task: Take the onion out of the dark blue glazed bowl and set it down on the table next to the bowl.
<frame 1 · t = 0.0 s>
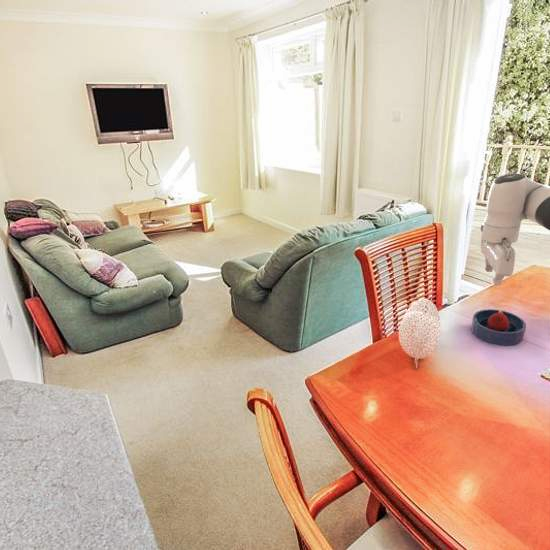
hand: (492, 277, 112), 20 cm above the table, tool pointing down, fingers open, 8 cm apart
bowl: (496, 334, 118), on the table
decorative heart: (416, 358, 111), on the table
onion: (496, 333, 118), resting on bowl
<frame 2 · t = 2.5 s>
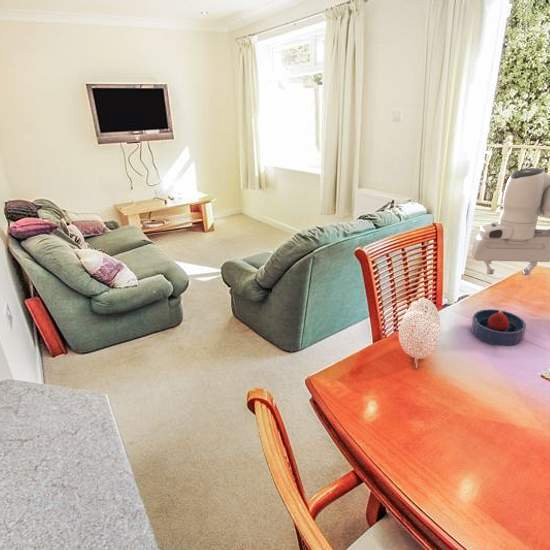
hand: (507, 274, 110), 21 cm above the table, tool pointing down, fingers open, 8 cm apart
nothing on the table moved.
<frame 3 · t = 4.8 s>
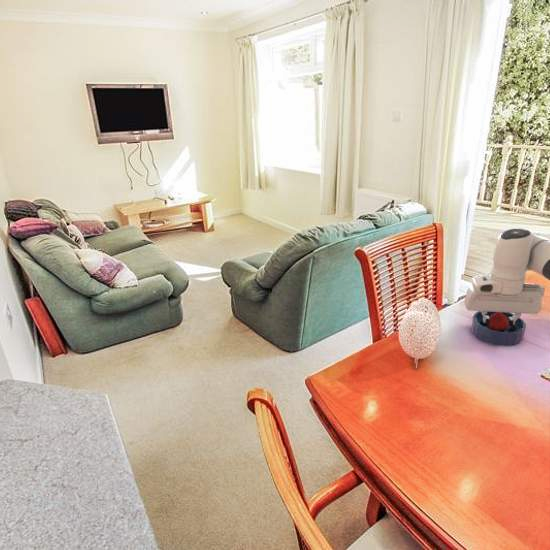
hand: (498, 322, 117), 4 cm above the table, tool pointing down, fingers closed on onion, 6 cm apart
onion: (496, 333, 118), resting on bowl, touching gripper
everything else where it was.
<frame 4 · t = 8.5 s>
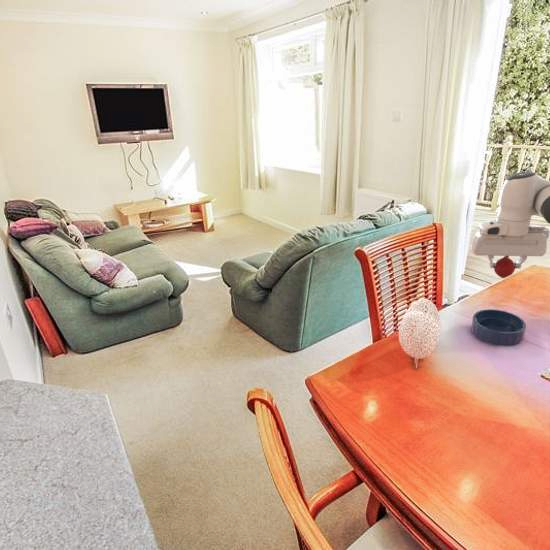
hand: (504, 267, 121), 18 cm above the table, tool pointing down, fingers closed on onion, 6 cm apart
onion: (502, 278, 122), point 14 cm above the table, touching gripper
everything else where it was.
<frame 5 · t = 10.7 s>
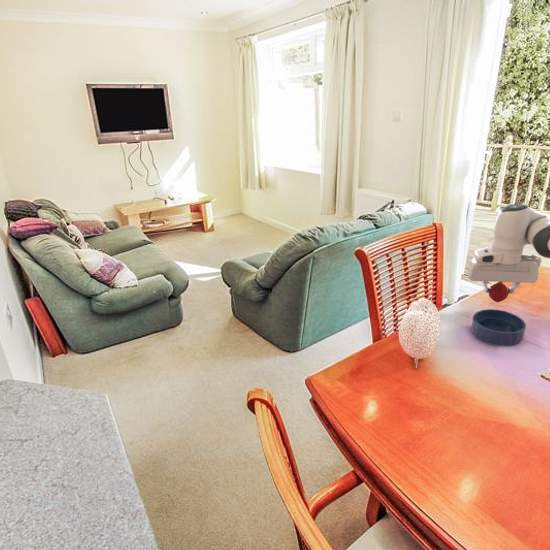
hand: (498, 292, 127), 8 cm above the table, tool pointing down, fingers closed on onion, 6 cm apart
onion: (496, 302, 128), point 4 cm above the table, touching gripper
everything else where it was.
when the fingers open (4 cm above the table, at t = 12.3 s): onion stays where it is, on the table.
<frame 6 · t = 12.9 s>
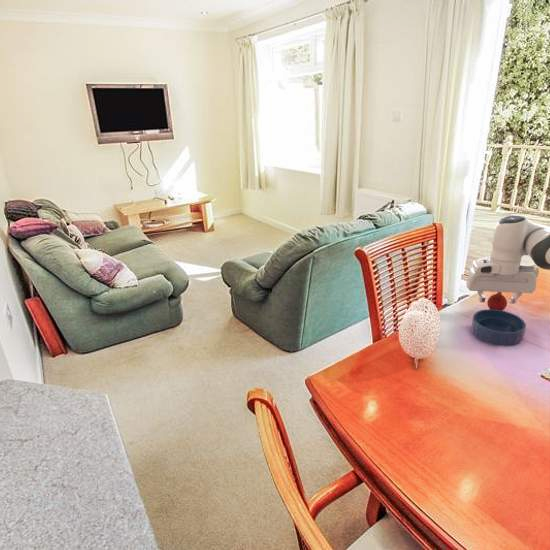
hand: (496, 302, 128), 4 cm above the table, tool pointing down, fingers open, 8 cm apart
onion: (494, 312, 130), on the table
everything else where it was.
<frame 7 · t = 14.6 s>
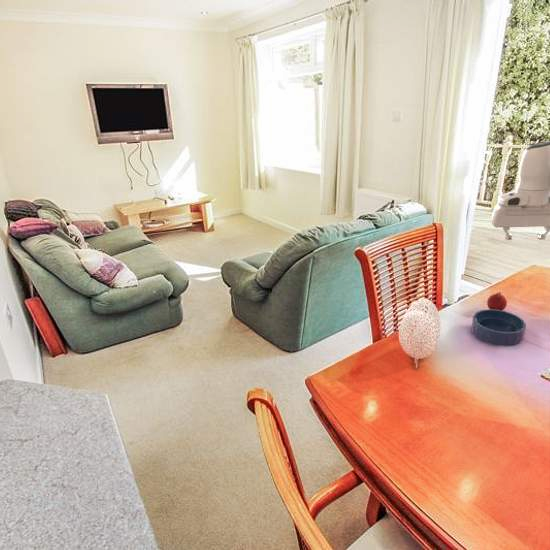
hand: (524, 239, 122), 25 cm above the table, tool pointing down, fingers open, 8 cm apart
nothing on the table moved.
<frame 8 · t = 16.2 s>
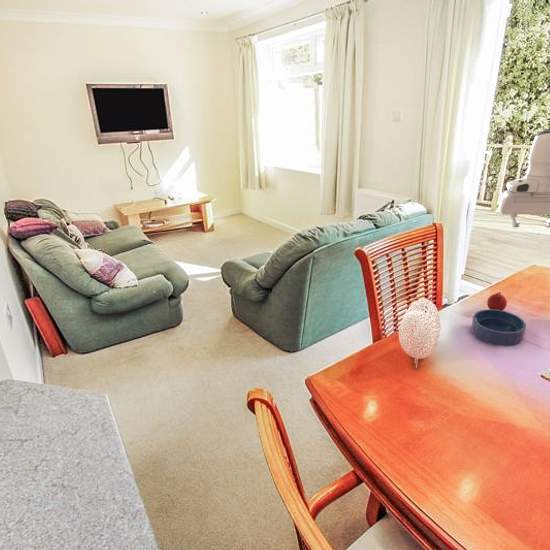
hand: (531, 227, 121), 29 cm above the table, tool pointing down, fingers open, 8 cm apart
nothing on the table moved.
at the end: onion inside the target area (0.7 cm from its centre), on the table; onion touching table; the gripper is holding nothing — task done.
